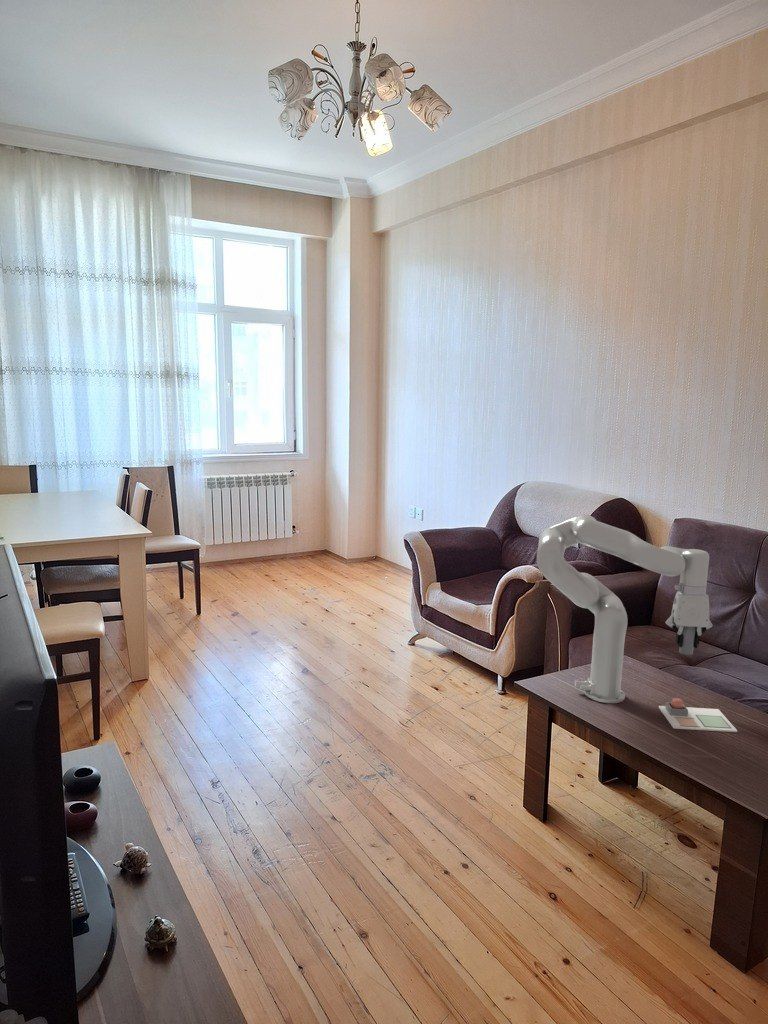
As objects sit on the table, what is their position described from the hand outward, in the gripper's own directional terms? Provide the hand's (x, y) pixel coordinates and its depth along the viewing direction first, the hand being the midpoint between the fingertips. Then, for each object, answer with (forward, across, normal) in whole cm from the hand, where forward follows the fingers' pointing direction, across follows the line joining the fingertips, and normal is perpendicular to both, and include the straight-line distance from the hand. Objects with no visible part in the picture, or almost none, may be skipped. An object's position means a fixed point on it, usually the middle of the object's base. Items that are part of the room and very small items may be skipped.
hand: (686, 645), depth 213 cm
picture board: (+19, +1, -11) cm, 22 cm away
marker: (+2, 0, 0) cm, 2 cm away
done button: (+17, -4, -8) cm, 19 cm away
